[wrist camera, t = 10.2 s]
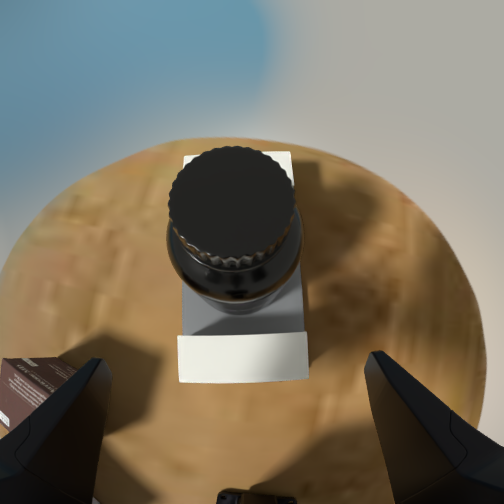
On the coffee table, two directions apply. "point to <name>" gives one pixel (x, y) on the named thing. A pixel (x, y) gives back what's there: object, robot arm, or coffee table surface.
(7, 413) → the box
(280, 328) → the rail plate
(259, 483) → the coffee table surface
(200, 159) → the supplement bottle
